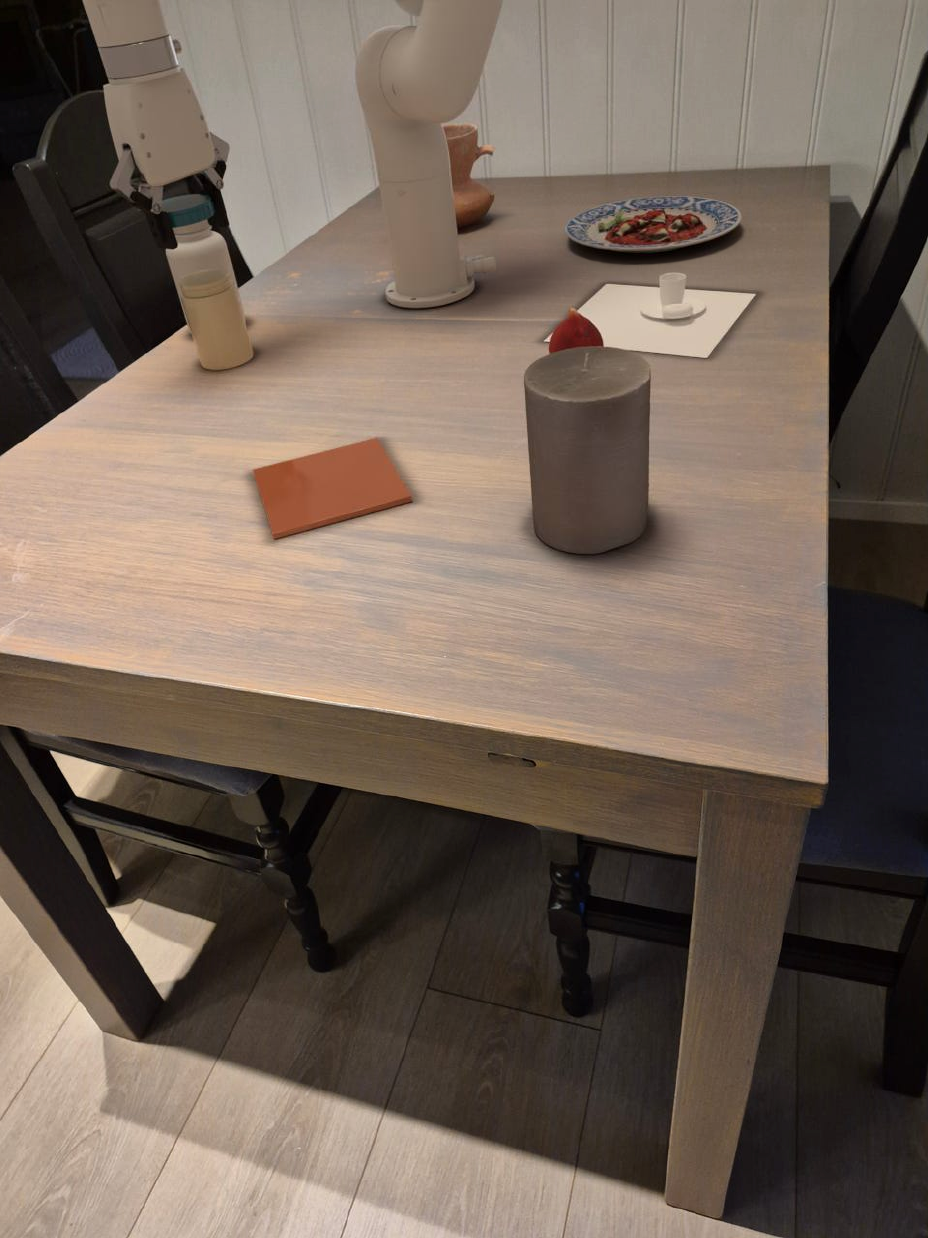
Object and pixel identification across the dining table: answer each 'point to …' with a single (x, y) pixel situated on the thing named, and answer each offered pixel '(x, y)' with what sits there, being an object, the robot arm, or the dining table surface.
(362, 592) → the dining table surface
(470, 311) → the dining table surface
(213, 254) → the pill bottle
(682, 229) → the ceramic plate
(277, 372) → the dining table surface
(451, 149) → the ceramic jug
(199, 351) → the jar
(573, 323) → the onion
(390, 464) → the tile
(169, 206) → the lid
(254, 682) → the dining table surface
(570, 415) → the pillar candle
